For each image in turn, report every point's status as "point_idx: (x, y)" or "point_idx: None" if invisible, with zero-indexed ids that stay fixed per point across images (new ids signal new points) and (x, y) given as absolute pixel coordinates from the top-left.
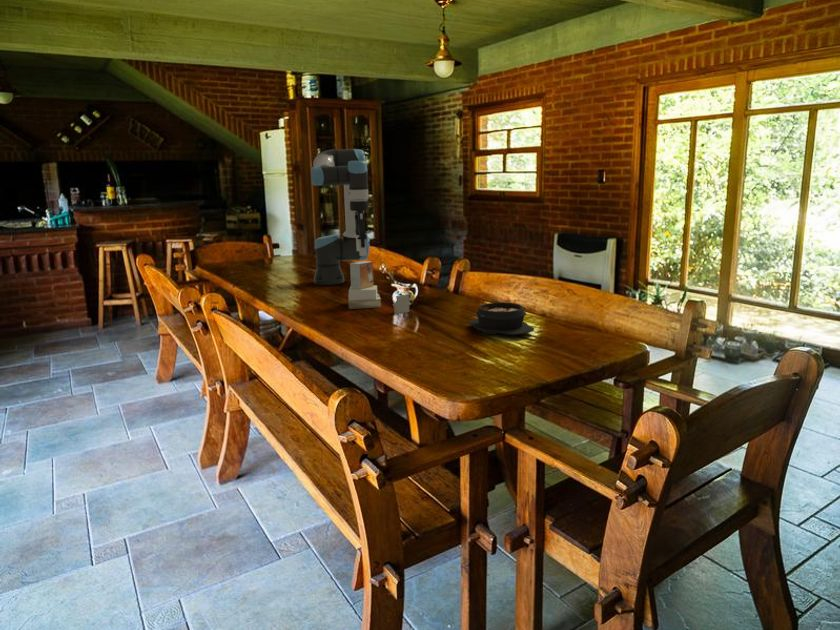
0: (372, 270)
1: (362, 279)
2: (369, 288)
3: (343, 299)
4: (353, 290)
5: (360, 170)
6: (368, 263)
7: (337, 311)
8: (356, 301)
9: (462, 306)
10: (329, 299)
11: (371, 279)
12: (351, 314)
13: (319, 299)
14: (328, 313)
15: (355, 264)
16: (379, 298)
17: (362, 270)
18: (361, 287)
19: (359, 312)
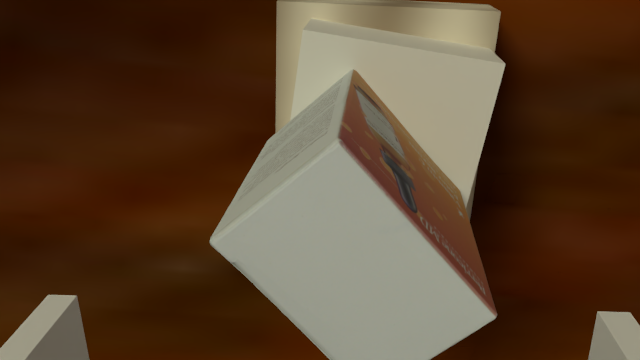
0: (352, 112)
1: (454, 205)
2: (430, 113)
3: (159, 227)
4: None
5: None
6: (395, 195)
7: (504, 289)
8: (473, 193)
9: None
10: (144, 303)
11: (369, 103)
12: (626, 221)
13: (133, 353)
14: (536, 337)
15: (438, 348)
16: (472, 19)
17: (461, 243)
18: (455, 189)
19: (592, 169)
